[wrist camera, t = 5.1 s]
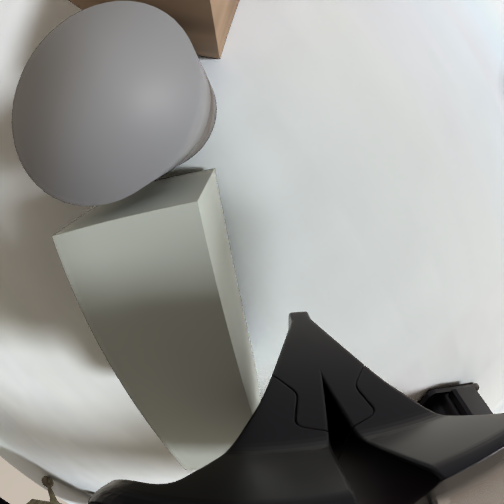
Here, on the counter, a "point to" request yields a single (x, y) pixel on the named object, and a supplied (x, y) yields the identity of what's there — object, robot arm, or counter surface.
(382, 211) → the counter surface
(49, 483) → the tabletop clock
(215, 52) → the hinge base
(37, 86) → the hinge leaf
